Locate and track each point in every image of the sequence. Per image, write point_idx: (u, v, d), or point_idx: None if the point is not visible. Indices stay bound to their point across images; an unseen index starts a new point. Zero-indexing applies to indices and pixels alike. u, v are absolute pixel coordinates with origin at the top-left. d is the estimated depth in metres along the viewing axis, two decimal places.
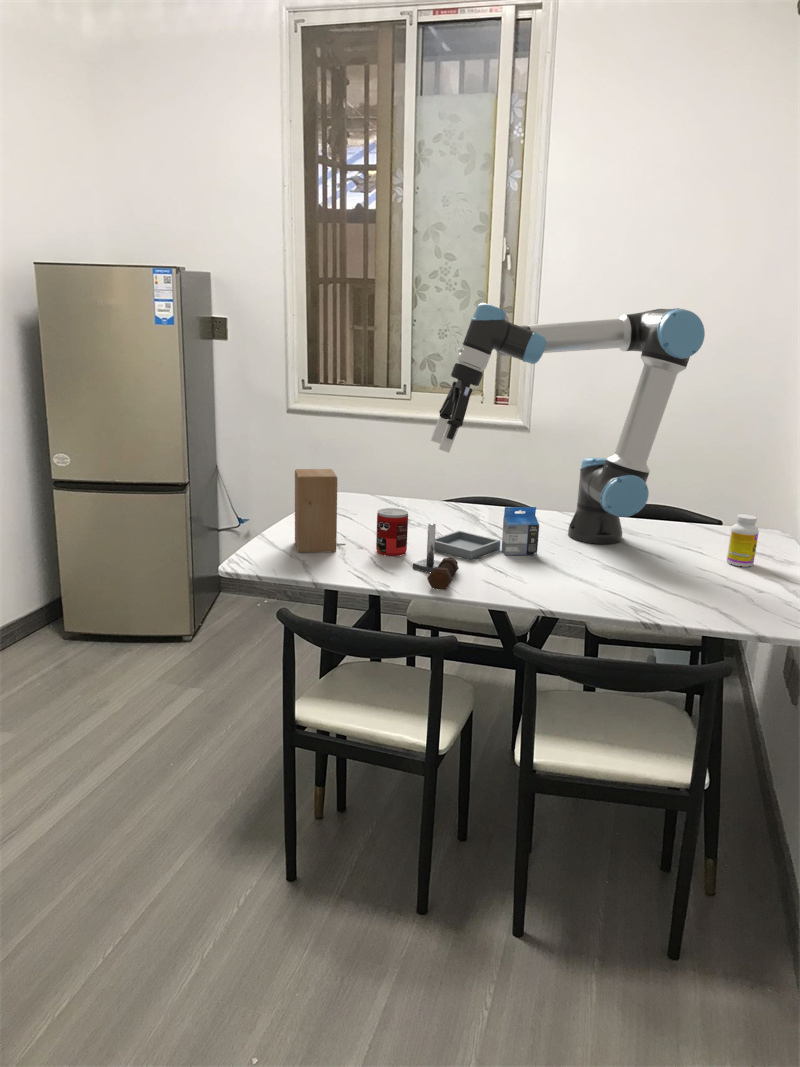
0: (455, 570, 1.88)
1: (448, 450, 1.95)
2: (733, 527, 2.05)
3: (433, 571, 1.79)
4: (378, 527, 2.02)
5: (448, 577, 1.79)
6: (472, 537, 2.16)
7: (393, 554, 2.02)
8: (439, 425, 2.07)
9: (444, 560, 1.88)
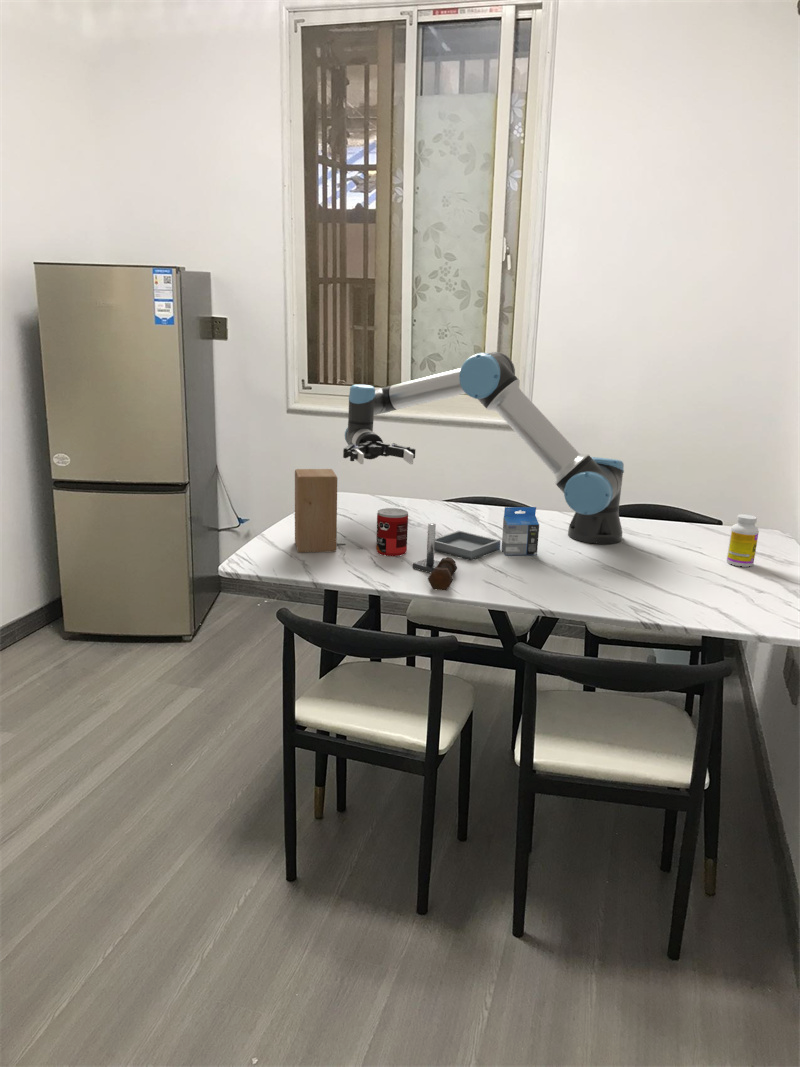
0: (454, 570, 1.88)
1: (360, 454, 2.06)
2: (733, 527, 2.05)
3: (434, 571, 1.79)
4: (378, 527, 2.02)
5: (449, 577, 1.78)
6: (472, 537, 2.16)
7: (393, 554, 2.02)
8: (405, 458, 2.14)
9: (443, 560, 1.88)
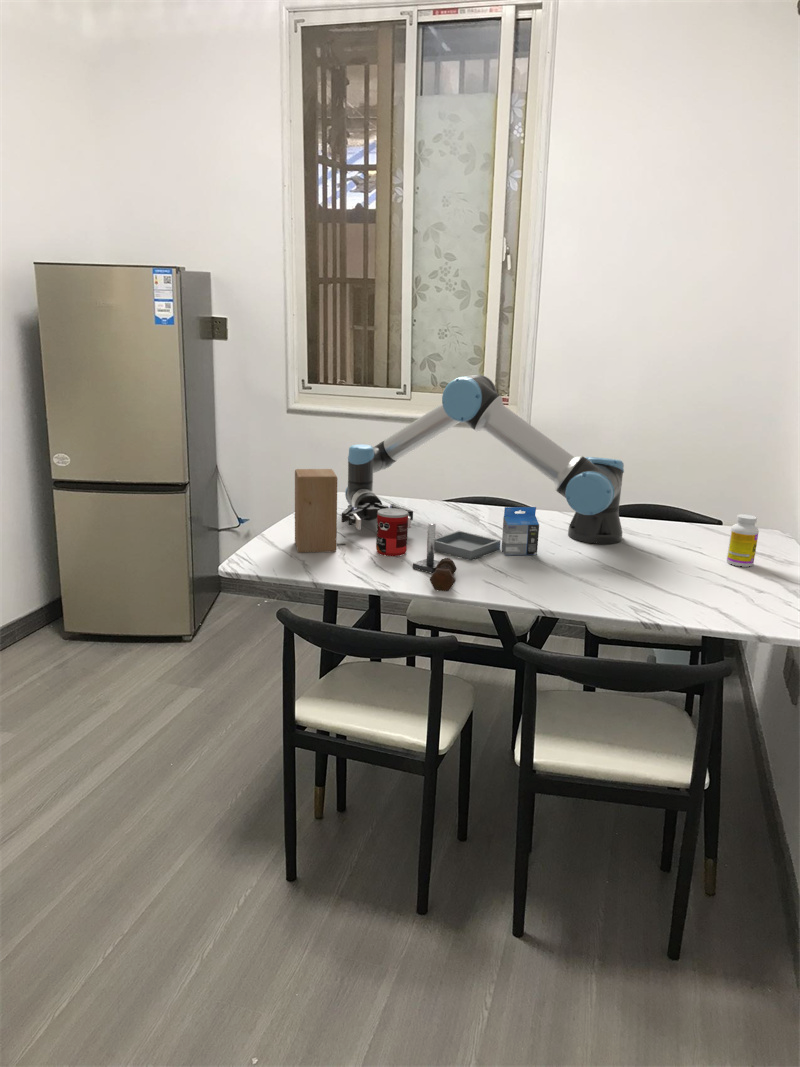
0: (454, 570, 1.87)
1: (357, 520, 2.09)
2: (733, 527, 2.05)
3: (436, 572, 1.78)
4: (378, 527, 2.02)
5: (451, 578, 1.78)
6: (472, 537, 2.16)
7: (393, 554, 2.02)
8: None
9: (442, 561, 1.87)
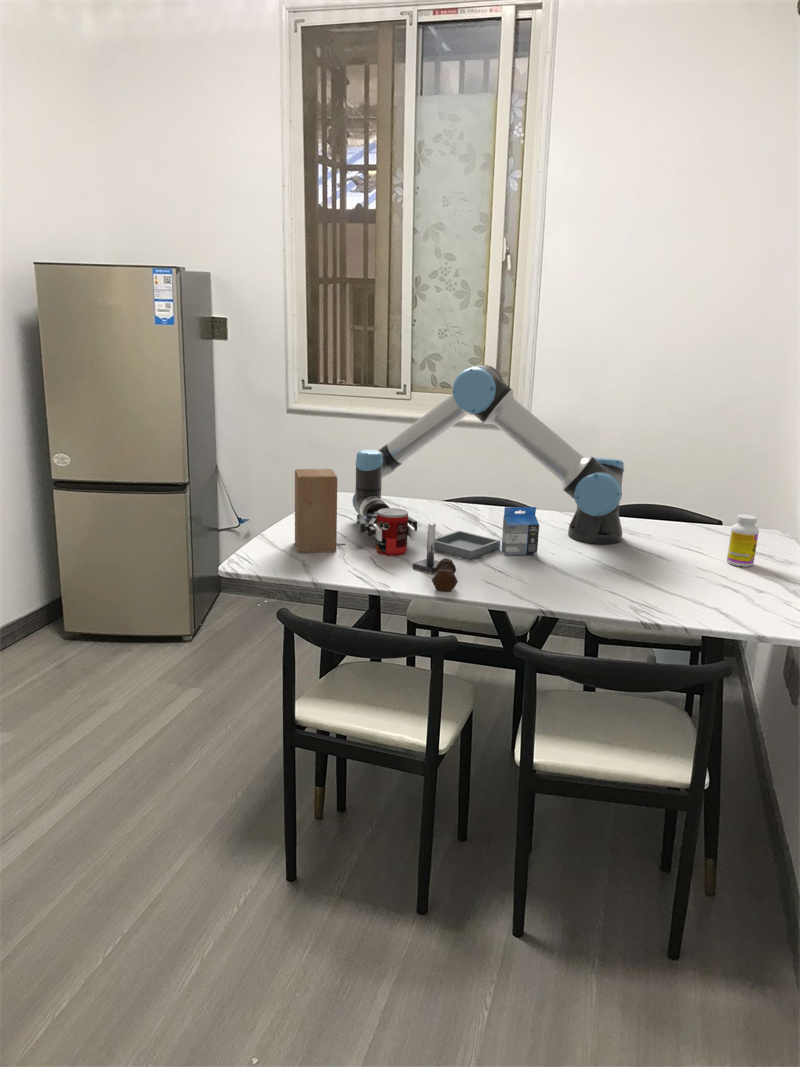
0: (454, 571, 1.87)
1: (378, 531, 1.99)
2: (733, 527, 2.05)
3: (438, 573, 1.78)
4: None
5: (454, 579, 1.78)
6: (472, 537, 2.16)
7: (393, 554, 2.02)
8: (407, 532, 2.05)
9: (442, 561, 1.87)
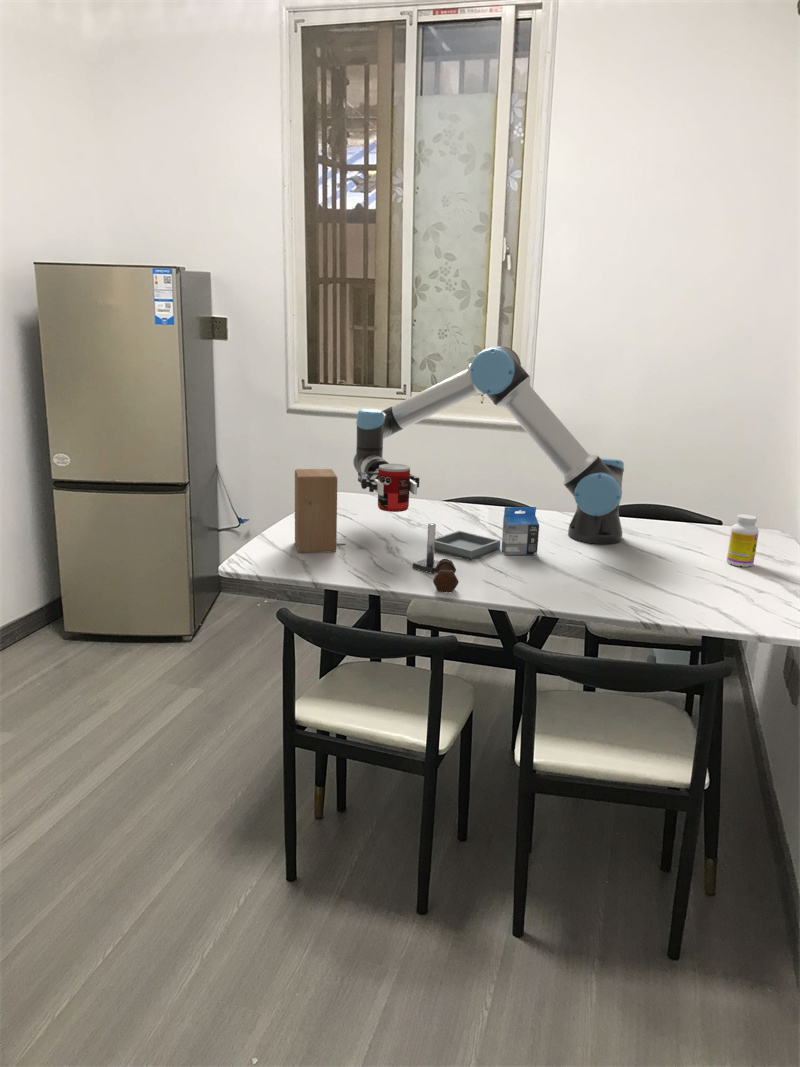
0: (453, 571, 1.87)
1: (380, 485, 1.96)
2: (733, 527, 2.05)
3: (439, 574, 1.77)
4: None
5: (455, 579, 1.77)
6: (472, 537, 2.16)
7: (395, 509, 1.99)
8: (409, 488, 2.02)
9: (442, 562, 1.87)
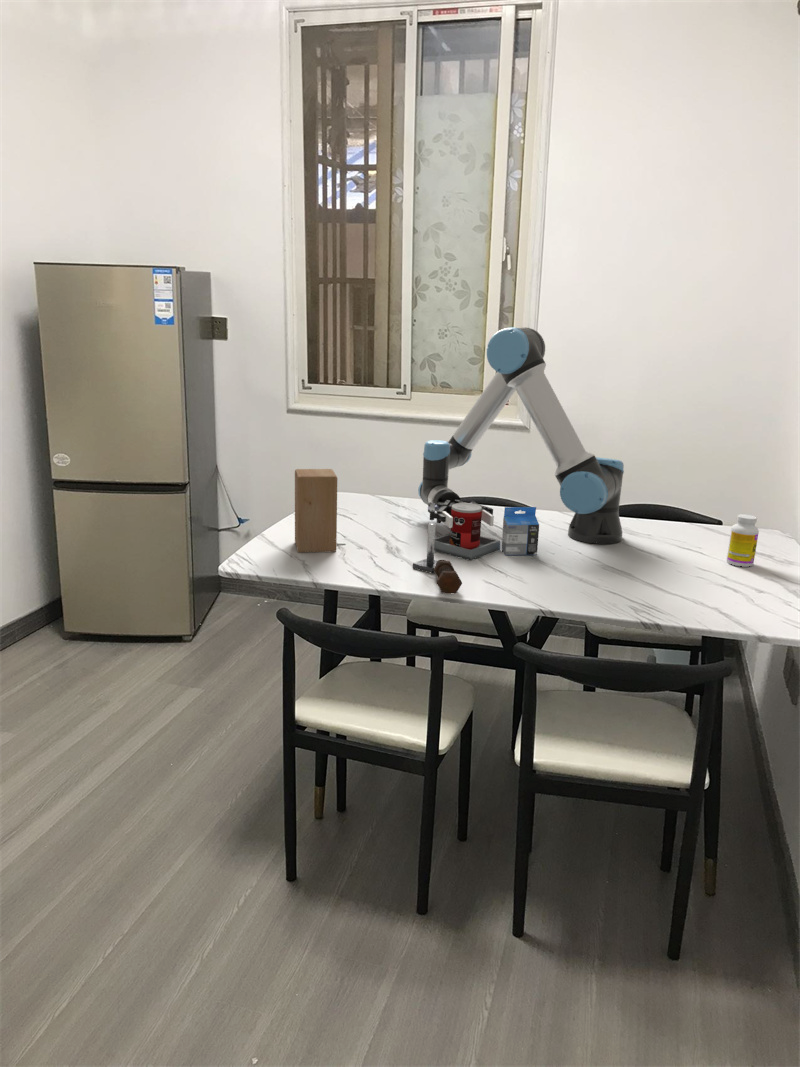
0: None
1: (449, 518, 2.03)
2: (733, 527, 2.05)
3: (443, 575, 1.77)
4: (453, 522, 2.07)
5: (459, 580, 1.77)
6: None
7: (467, 548, 2.07)
8: (484, 519, 2.10)
9: (441, 563, 1.86)
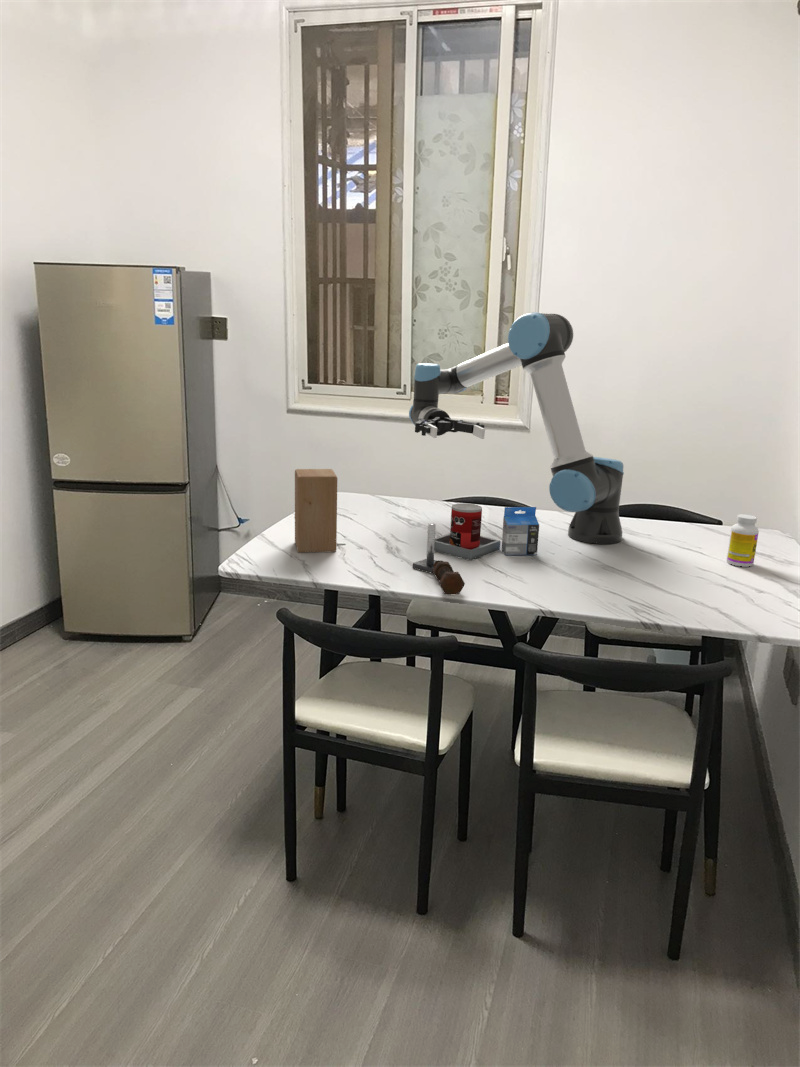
0: None
1: (434, 428, 2.10)
2: (733, 527, 2.05)
3: (446, 576, 1.76)
4: (453, 522, 2.07)
5: (462, 580, 1.77)
6: None
7: (467, 548, 2.07)
8: (475, 433, 2.18)
9: (440, 564, 1.85)
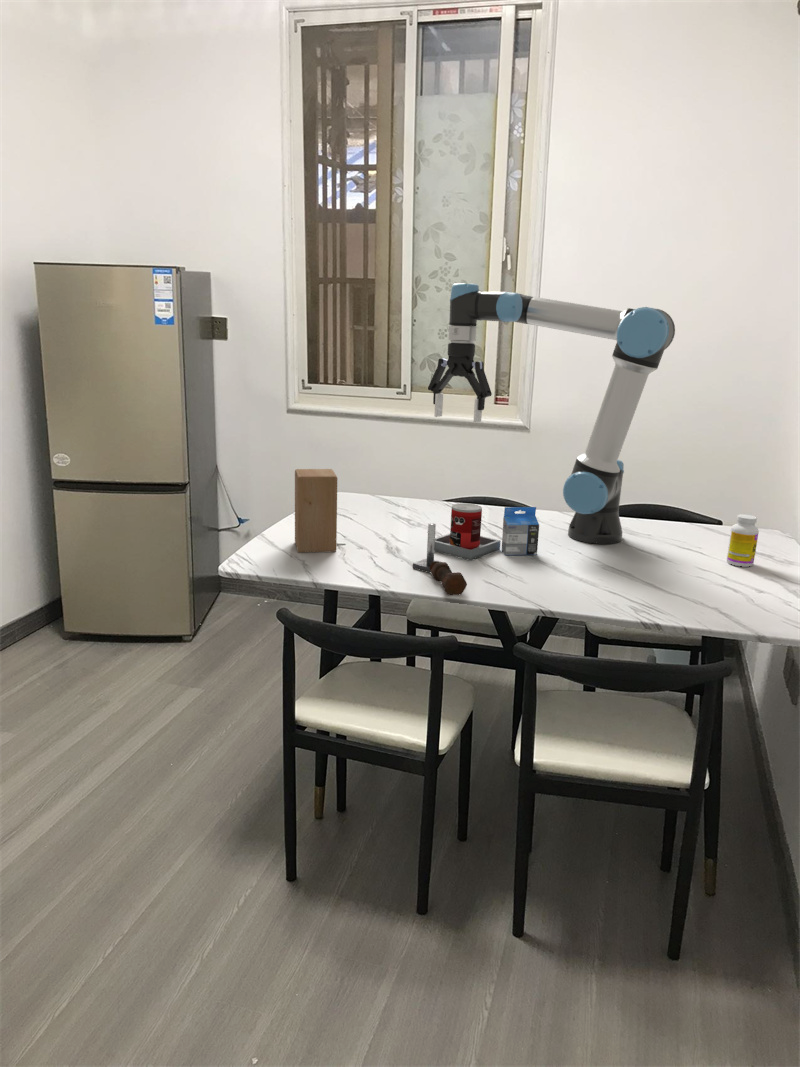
0: None
1: (480, 419, 2.20)
2: (733, 527, 2.05)
3: (449, 577, 1.75)
4: (453, 522, 2.07)
5: (464, 581, 1.76)
6: None
7: (467, 548, 2.07)
8: (438, 401, 2.26)
9: (439, 565, 1.85)
